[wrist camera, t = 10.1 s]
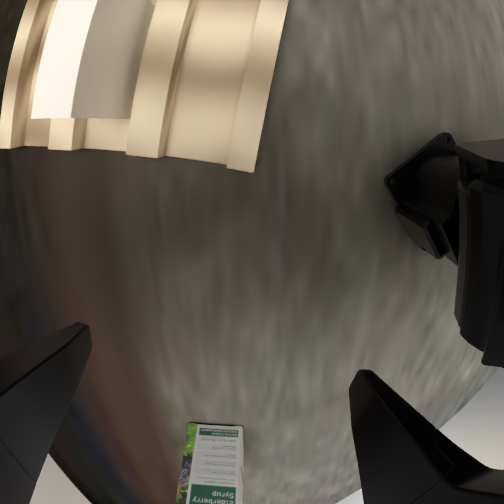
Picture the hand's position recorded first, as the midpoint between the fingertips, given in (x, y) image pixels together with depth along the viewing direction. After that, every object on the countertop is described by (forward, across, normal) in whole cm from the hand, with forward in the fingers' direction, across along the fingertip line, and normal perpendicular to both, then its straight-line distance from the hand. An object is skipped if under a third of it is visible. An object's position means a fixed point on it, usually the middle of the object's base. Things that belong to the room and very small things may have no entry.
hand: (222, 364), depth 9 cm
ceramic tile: (+12, +9, -11) cm, 18 cm away
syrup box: (+12, -1, +23) cm, 26 cm away
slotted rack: (+12, +9, -11) cm, 19 cm away
